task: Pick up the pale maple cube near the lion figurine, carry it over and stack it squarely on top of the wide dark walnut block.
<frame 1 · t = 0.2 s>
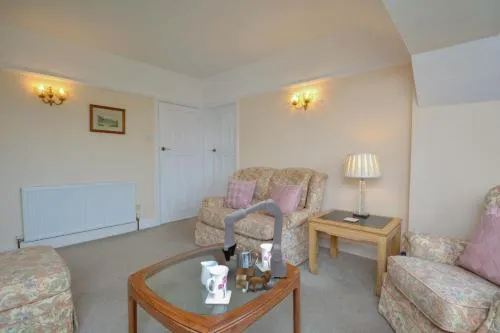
hand: (229, 258, 152), 10 cm above the table, tool pointing down, fingers open, 7 cm apart
walnut block: (245, 277, 150), on the table
lion figurine: (259, 289, 136), on the table
maple cube: (241, 286, 139), on the table
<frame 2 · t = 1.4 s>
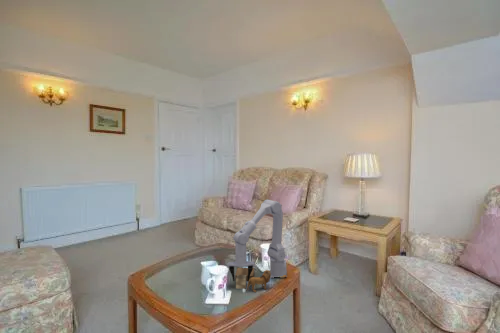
hand: (241, 280, 139), 3 cm above the table, tool pointing down, fingers open, 7 cm apart
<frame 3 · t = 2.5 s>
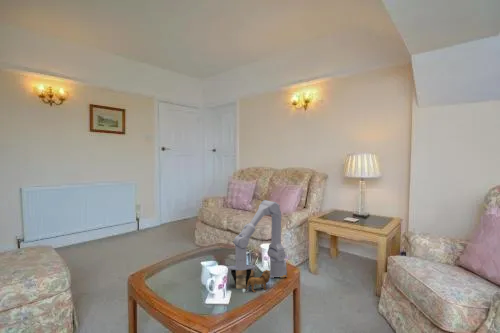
hand: (241, 283, 139), 1 cm above the table, tool pointing down, fingers closed on maple cube, 5 cm apart
maple cube: (241, 286, 139), on the table, touching gripper
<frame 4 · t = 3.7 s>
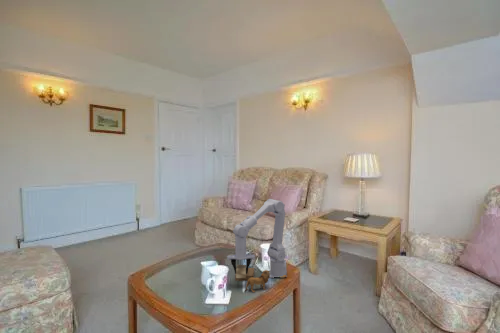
hand: (241, 273, 139), 7 cm above the table, tool pointing down, fingers closed on maple cube, 5 cm apart
maple cube: (241, 275, 139), point 6 cm above the table, touching gripper
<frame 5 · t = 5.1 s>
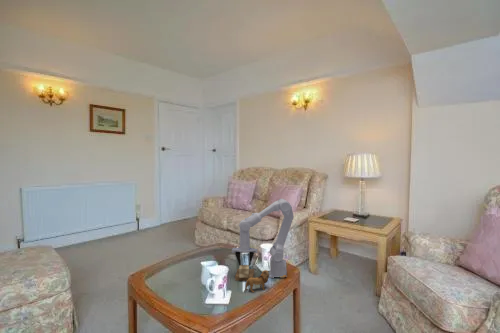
hand: (244, 264, 150), 7 cm above the table, tool pointing down, fingers open, 5 cm apart
walnut block: (245, 278, 150), on the table, touching maple cube
maple cube: (244, 275, 146), point 2 cm above the table, touching walnut block
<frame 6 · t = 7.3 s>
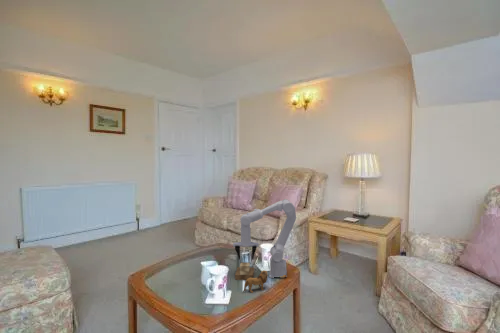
hand: (246, 259, 151), 10 cm above the table, tool pointing down, fingers open, 7 cm apart
walnut block: (245, 276, 151), on the table
maple cube: (244, 272, 148), point 3 cm above the table
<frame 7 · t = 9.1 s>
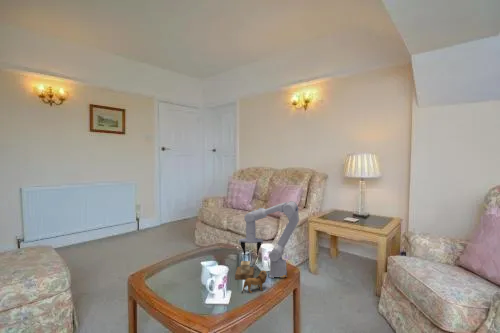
hand: (251, 254, 157), 10 cm above the table, tool pointing down, fingers open, 7 cm apart
walnut block: (245, 276, 151), on the table, touching maple cube
maple cube: (245, 271, 150), point 3 cm above the table, touching walnut block
at the end: maple cube 1.2 cm off-centre on the walnut block, point 3.5 cm above the walnut block's base; maple cube tilted 0°; the gripper is holding nothing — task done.
